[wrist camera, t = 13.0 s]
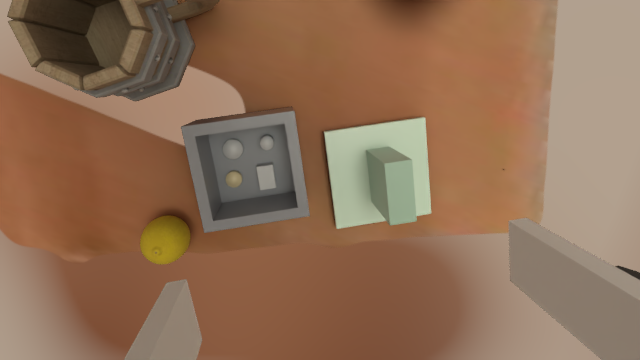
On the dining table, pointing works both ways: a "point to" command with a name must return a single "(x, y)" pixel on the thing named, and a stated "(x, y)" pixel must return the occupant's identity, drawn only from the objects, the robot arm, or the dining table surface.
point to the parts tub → (246, 168)
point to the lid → (379, 172)
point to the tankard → (108, 42)
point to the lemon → (165, 239)
